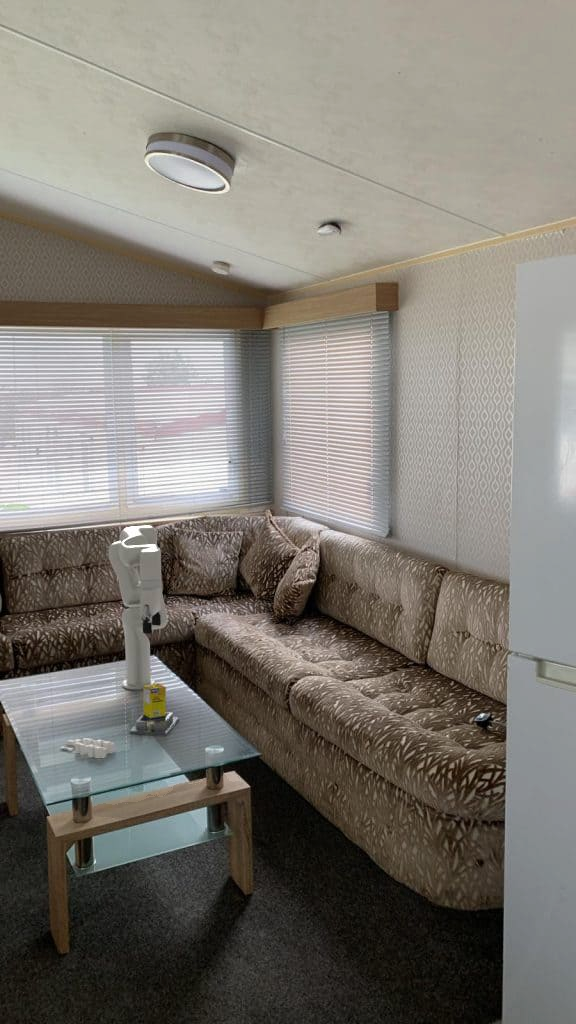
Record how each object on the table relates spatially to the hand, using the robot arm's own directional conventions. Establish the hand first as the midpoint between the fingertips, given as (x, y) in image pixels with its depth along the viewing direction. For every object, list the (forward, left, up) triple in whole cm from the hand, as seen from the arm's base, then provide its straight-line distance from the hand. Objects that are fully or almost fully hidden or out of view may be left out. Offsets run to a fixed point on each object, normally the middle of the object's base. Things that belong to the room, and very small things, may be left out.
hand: (151, 629), depth 309 cm
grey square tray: (+17, +6, -30) cm, 35 cm away
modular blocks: (+40, -9, -31) cm, 51 cm away
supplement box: (+17, +6, -27) cm, 32 cm away
